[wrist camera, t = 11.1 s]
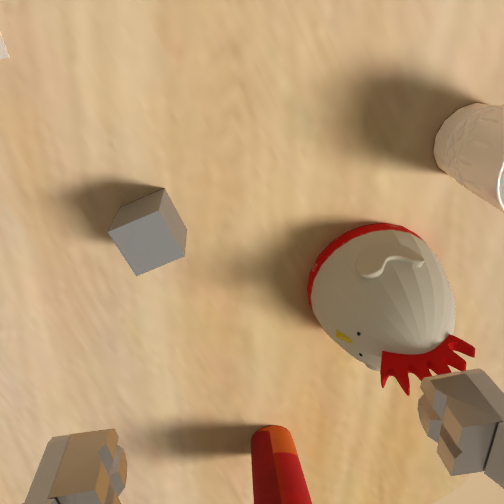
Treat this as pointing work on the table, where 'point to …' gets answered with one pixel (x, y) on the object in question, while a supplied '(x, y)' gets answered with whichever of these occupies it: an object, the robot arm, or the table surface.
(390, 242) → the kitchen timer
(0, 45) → the tile
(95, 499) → the robot arm
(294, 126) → the table surface
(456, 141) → the white cup
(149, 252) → the grey block
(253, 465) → the paper cup
